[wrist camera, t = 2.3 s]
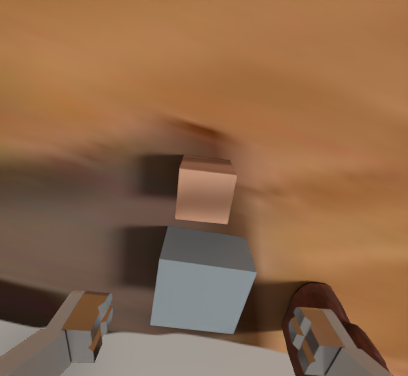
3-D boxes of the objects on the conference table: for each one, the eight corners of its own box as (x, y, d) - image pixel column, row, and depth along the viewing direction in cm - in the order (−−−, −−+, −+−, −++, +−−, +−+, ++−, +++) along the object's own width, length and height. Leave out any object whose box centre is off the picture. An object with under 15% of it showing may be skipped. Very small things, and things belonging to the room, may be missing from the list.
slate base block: (168, 224, 26) (159, 258, 20) (245, 236, 27) (257, 272, 21) (159, 282, 29) (150, 324, 24) (227, 291, 30) (233, 334, 25)
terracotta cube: (183, 154, 22) (179, 168, 17) (229, 160, 22) (237, 175, 18) (180, 196, 24) (175, 218, 19) (222, 200, 24) (227, 224, 20)
